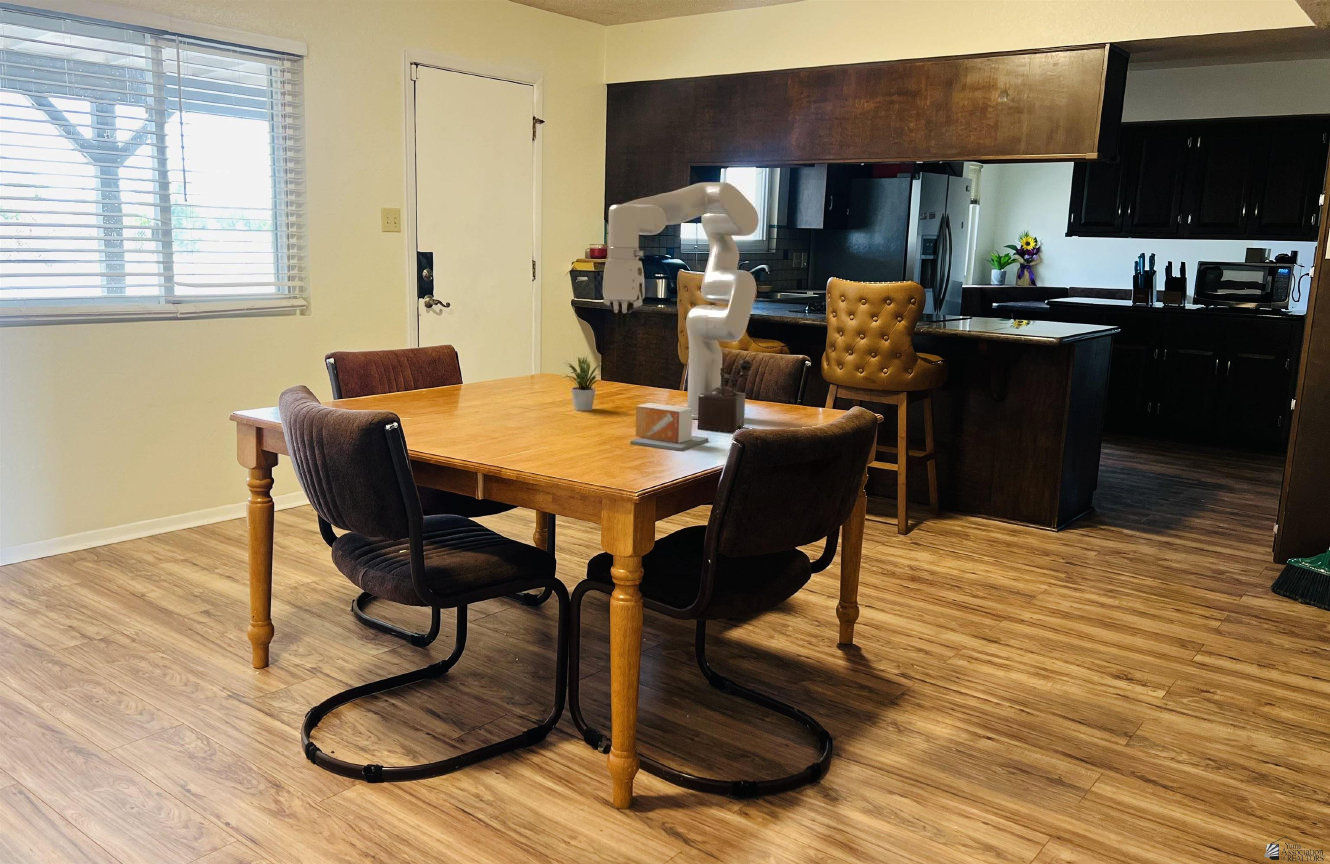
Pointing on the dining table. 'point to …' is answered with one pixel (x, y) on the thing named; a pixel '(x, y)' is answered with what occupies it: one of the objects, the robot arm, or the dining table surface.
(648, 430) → the small box
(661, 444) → the mat
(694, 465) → the dining table surface
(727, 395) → the manual coffee grinder
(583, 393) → the house plant
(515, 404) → the dining table surface
